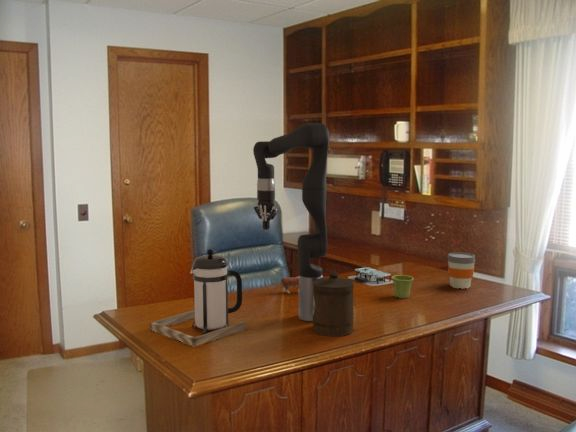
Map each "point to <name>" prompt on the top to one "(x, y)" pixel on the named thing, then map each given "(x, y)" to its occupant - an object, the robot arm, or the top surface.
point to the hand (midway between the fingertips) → (266, 229)
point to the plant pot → (402, 285)
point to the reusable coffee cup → (460, 269)
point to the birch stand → (162, 328)
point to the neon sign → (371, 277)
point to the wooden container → (333, 306)
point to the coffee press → (213, 291)
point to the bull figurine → (290, 283)
